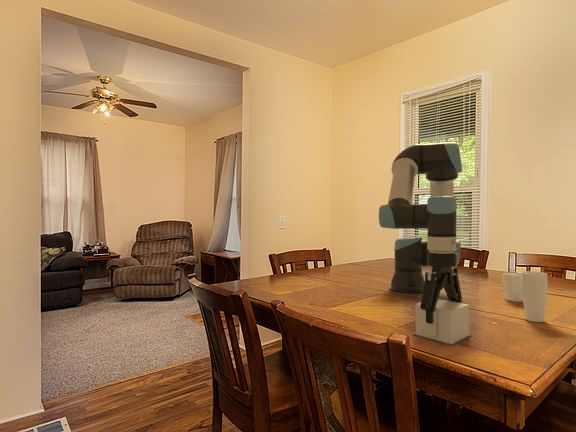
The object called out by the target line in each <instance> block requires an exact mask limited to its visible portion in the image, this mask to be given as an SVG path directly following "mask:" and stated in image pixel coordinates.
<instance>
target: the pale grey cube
mask: <svg viewBox="0 0 576 432" xmlns="http://www.w3.org/2000/svg"><path fill="white" fill-rule="evenodd" d="M420 306H421V302H418V303H415V334H416V335H419V336H423V337H427V338H430V339H434V340H438V341H441V342H445V343H449V344H453V343H455V342H457V341H459V340H461V339H463V338H465V337H467V336H469V335H470V304H467V303H462V302H461V303H458V302H452V301H449V300H447V299H440V298H438V301H437V304H436V307H435V310H434V311H437V336H432V335H429V334H426V311H425V310H422V309H421V308H420Z"/></svg>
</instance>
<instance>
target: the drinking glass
mask: <svg viewBox="0 0 576 432" xmlns="http://www.w3.org/2000/svg"><path fill="white" fill-rule="evenodd" d="M521 273H522V293H523V302H522V303H523V311H524V313H523V314H524V315H523V317H524V319H525V320H526V321H528V322H531V323H543V322H545V319H546V306H547V296H548V273H546V272H543V271H532V270H529V271H528V270H526V271H522V272H521Z"/></svg>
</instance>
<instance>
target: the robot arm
mask: <svg viewBox="0 0 576 432" xmlns="http://www.w3.org/2000/svg"><path fill="white" fill-rule="evenodd" d="M462 172H463V167H462V158H461V153H460V146H459V143H457V142H453V141H452V142H451V141H450V142H446V141H443V142H434V143H433V142H432V143H421V144H419V143H418V144H414V145H411V146H407V148H404V149H403V150H402V151H401V152H399V153H398V154H397V155H396V157H395V158H394V160H393V161H392V165H391V173H392V179H391V185H390V190H389V196H388V200H387V201H388V202H387V204H382V205H380V206H379V209H378V222H379V223H378V224H379V226H380V227H381V228H382V229H392V230H394V229H395V230H397V229H399V230H400V229H401V230H402V229H417V230H418V229H422V230H423V229H424V230H425V229H427V234H426V235H427V237H426V238H427V239H423V237H422V236H421V235H420V236H417V235H416V236H409V237H402V238H397V239H396V240H395V241H394V273H393V276H392V280H391V282H390V289H391V290H392V291H395V292H399V293H407V294H408V293H409V294H410V293H411V294H413V293H414V294H416V293H418V294H419V293H422V295H421V306H420V308H421V309H422V310H425V311H426V334H429V335H432V336H437V311H434V310H435V307H436V304H437V301H438V299H439V297H440V293H441V291H442V290H443V289H444V291H445V295H446V296H447V298H448V301H452V302H458V303H462V302H463V296H462V290H461V286H460V285H461V284H460V280H459V272H458V271H459V270H458V268H457V266H458V264H459V262H460V257H461V250H462V249H461V247H462V244H461V241H460V240H458V237H457V210H458V209H457V208H458V206H457V199H456V197H455V196H454V185H455V184H454V183H455V180H457V179H458V177H459V174H461V173H462ZM417 175H425V179H426V180H427V181H428V182H429V191H430V192H429V195H430V196H429V197H428V198H427V202H426V204H425V203H424V204H423V203H422V204H417V203H416V204H413V194H414V186H415V185H414V184H415V177H416V176H417ZM423 267H426V268H427V267H429V268H431V272H427V271H426V272H425V274H423Z"/></svg>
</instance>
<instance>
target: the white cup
mask: <svg viewBox="0 0 576 432" xmlns="http://www.w3.org/2000/svg"><path fill="white" fill-rule="evenodd" d="M502 282H503V283H502V284H503V285H502V286H503V292H504V293H503V294H504V300H506V301H508V302H515V303H517V302H518V303H519V302H521V303H523V293H522V272H520V273H519V272H503V273H502Z"/></svg>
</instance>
